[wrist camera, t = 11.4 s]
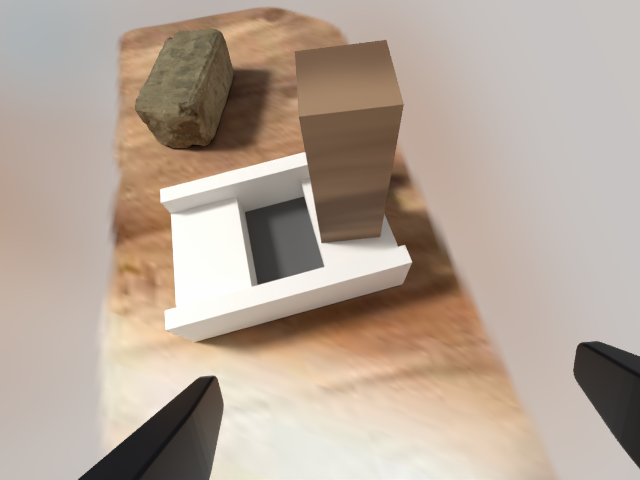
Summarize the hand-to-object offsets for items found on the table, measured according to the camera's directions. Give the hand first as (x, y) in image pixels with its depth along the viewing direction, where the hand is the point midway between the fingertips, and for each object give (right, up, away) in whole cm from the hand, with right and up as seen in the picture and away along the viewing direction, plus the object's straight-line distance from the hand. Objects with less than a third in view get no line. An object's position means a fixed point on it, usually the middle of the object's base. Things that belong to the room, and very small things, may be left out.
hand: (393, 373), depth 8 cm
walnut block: (0, +5, +15) cm, 16 cm away
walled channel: (-5, +3, +17) cm, 18 cm away
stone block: (-14, +17, +25) cm, 33 cm away
